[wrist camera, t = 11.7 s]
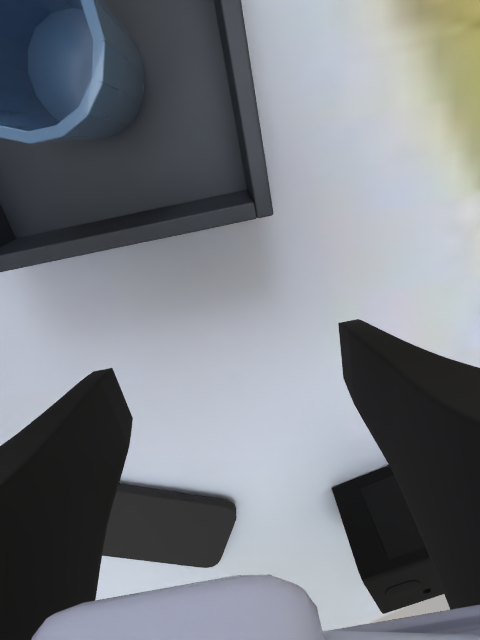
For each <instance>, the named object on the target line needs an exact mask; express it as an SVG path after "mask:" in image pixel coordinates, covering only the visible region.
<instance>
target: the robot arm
mask: <svg viewBox="0 0 480 640" xmlns="http://www.w3.org/2000/svg"><path fill="white" fill-rule="evenodd" d="M339 334H340V345H341V356H342V367H343V378H344V380H345V383H346V385H347V388H348V390H349V393H350V395H351V398H352V400H353V402H354V405H355V406H356V408H357V410H358V412H359V413H360V415H361V417H362V419H363V420H364V422H365V424H366V426H367V427H368V429H369V431H370V433H371V434H372V436H373V438H374V439H375V441H376V443H377V445H378V446H379V448H380V450H381V451H382V453H383V455H384V457H385V458H386V460H387V462H388V464H389V466H390V468H391V470H392V471H393V473H394V475H395V478H396V480H397V482H398V484H399V486H400V489H401V491H402V493H403V495H404V498H405V500H406V502H407V504H408V507H409V509H410V511H411V514H412V516H413V518H414V521H415V523H416V525H417V528H418V530H419V532H420V535H421V537H422V539H423V542H424V544H425V547H426V549H427V552H428V554H429V557H430V559H431V562H432V564H433V566H434V569H435V571H436V574H437V576H438V579H439V581H440V584H441V586H442V589H443V591H444V594H445V597H446V599H447V602H448V604H449V607H450V610H446V611H440V612H434V613H428V614H423V615H417V616H412V617H405V618H399V619H393V620H388V621H382V622H376V623H370V624H364V625H359V626H353V627H347V628H341V629H335V630H329V631H322V629H321V624H320V619H319V615H318V610H317V607H316V605H315V604H314V603H313V601H312V600H311V598H310V597H309V596H308V594H307V593H306V592H305V590H304V589H303V588H301V587H300V586H298V585H296V584H294V583H291V582H288V581H285V580H283V579H280V578H277V577H274V576H272V575H237V576H231V577H225V578H220V579H214V580H208V581H203V582H197V583H192V584H186V585H180V586H175V587H169V588H163V589H158V590H152V591H147V592H141V593H135V594H130V595H124V596H119V597H113V598H107V599H102V600H96V601H95V598H96V591H97V584H98V578H99V571H100V564H101V558H102V552H103V546H104V541H105V535H106V529H107V525H108V521H109V516H110V512H111V509H112V505H113V502H114V498H115V495H116V491H117V488H118V485H119V481H120V478H121V474H122V471H123V467H124V463H125V460H126V456H127V452H128V449H129V443H130V437H131V428H132V419H133V418H132V416H131V413H130V411H129V408H128V406H127V403H126V401H125V398H124V396H123V393H122V391H121V388H120V386H119V383H118V381H117V379H116V376H115V374H114V371H113V369H112V368H110V369H105V370H99V371H94V372H92V373H91V374H89V375H88V376H87V377H85V378H84V379H83V380H81V381H80V382H79V383H78V384H77V385H75V386H74V387H73V388H72V389H71V390H70V391H68V392H67V393H66V394H65V395H64V396H63V397H61V398H60V399H59V400H58V401H57V402H56V403H54V404H53V405H52V406H51V407H50V408H49V409H47V410H46V411H45V412H44V413H43V414H41V415H40V416H39V417H38V418H36V419H35V420H34V421H33V422H31V423H30V424H29V425H28V426H26V427H25V428H24V429H23V430H21V431H20V432H19V433H18V434H16V435H15V436H14V437H12V438H11V439H10V440H8V441H7V442H5V443H4V444H3V445H1V446H0V640H480V368H478V367H474V366H471V365H467V364H464V363H461V362H458V361H454V360H451V359H448V358H445V357H442V356H439V355H437V354H434V353H432V352H429V351H427V350H424V349H422V348H419V347H417V346H414V345H412V344H410V343H408V342H405V341H403V340H401V339H399V338H397V337H395V336H392V335H390V334H388V333H386V332H384V331H382V330H380V329H378V328H376V327H374V326H372V325H370V324H368V323H366V322H364V321H361V320H359V319H357V320H352V321H347V322H342V323H339Z"/></svg>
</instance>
